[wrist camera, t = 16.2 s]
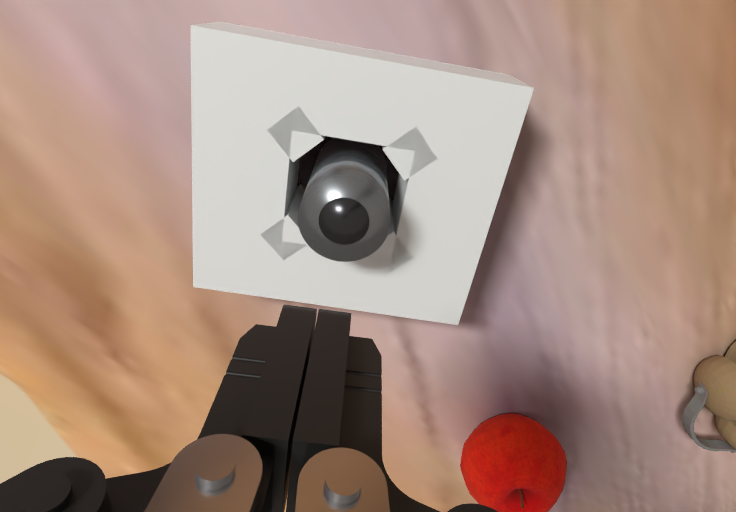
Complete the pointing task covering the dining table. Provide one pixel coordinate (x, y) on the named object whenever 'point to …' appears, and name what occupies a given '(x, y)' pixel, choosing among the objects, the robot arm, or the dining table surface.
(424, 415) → the dining table surface
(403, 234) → the jig
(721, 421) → the alarm clock
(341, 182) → the dark grey cylinder
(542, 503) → the apple
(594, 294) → the dining table surface
